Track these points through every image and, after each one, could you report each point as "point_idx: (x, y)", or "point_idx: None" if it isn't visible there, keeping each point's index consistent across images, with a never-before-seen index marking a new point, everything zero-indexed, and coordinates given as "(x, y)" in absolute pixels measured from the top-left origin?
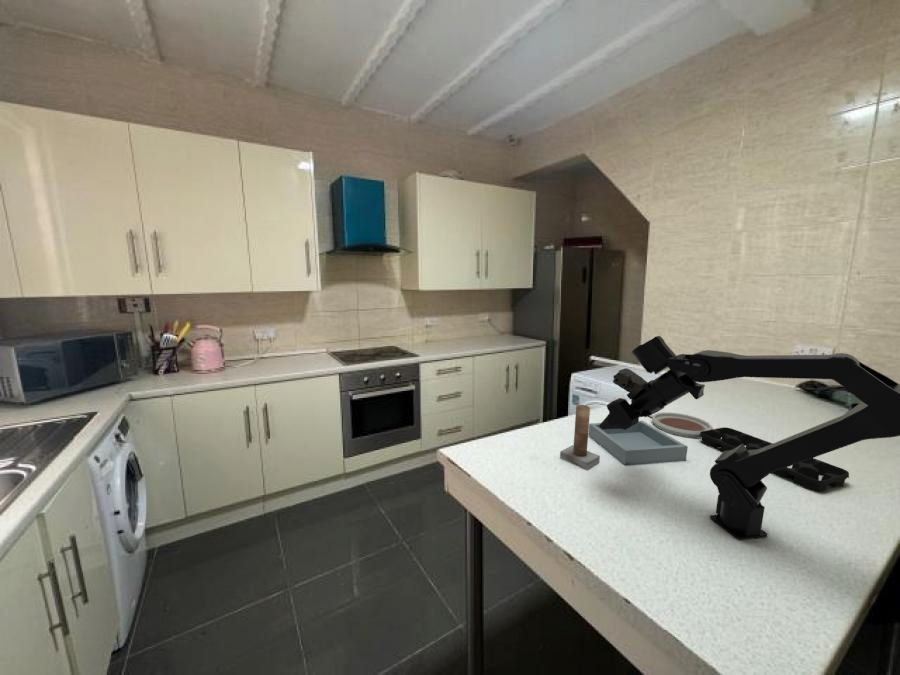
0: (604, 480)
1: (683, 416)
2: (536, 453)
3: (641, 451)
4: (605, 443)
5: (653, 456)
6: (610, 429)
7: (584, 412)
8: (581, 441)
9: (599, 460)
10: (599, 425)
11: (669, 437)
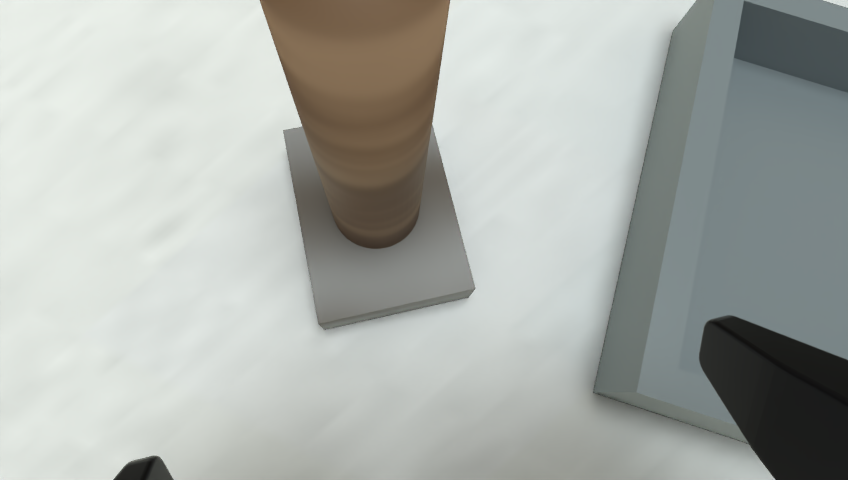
0: (319, 469)
1: None
2: (211, 52)
3: None
4: (655, 178)
5: None
6: (834, 64)
7: (298, 47)
8: (335, 200)
9: (470, 294)
10: (120, 472)
11: None
